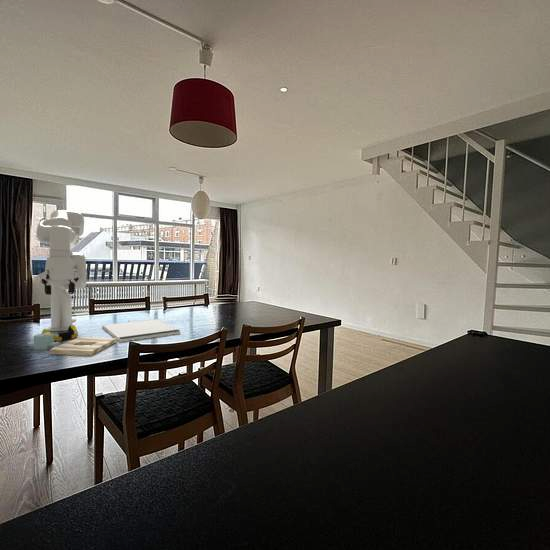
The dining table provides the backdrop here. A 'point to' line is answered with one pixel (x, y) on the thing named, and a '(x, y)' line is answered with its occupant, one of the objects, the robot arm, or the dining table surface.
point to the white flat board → (139, 330)
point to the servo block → (43, 341)
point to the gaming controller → (64, 334)
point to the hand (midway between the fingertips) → (60, 293)
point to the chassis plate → (78, 346)
